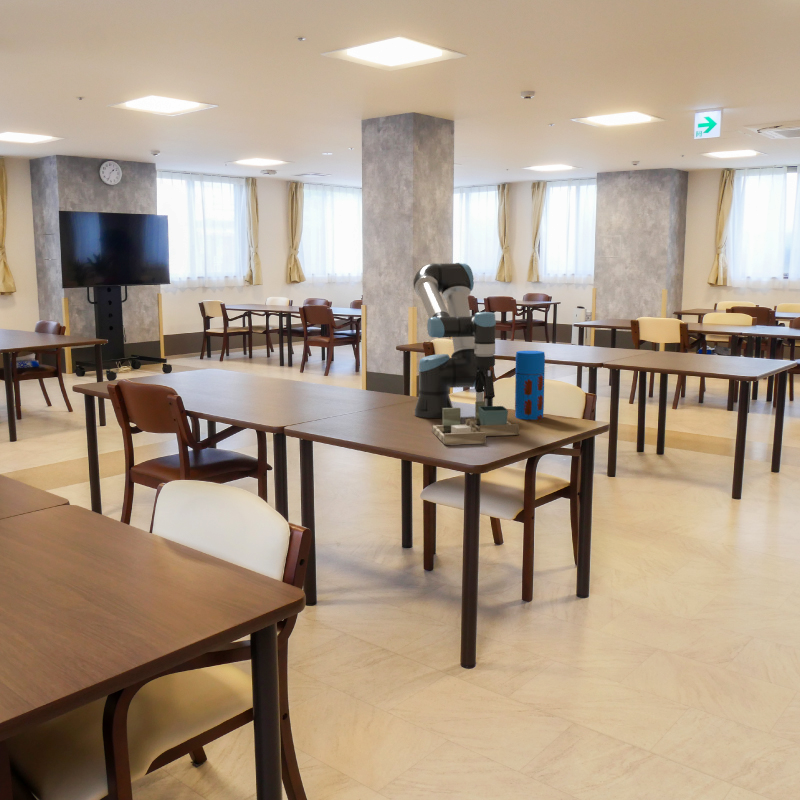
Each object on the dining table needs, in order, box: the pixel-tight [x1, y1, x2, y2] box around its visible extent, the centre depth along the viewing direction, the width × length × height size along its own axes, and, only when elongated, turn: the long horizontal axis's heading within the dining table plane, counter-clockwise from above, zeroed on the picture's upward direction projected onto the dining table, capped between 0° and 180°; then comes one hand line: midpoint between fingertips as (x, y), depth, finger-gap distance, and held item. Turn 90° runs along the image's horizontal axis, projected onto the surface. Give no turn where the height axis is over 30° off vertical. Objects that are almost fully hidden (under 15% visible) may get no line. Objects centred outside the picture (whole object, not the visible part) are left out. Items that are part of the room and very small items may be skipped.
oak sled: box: [464, 400, 520, 437], centre depth 294 cm, size 23×14×8 cm, turn 8°
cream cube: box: [450, 425, 471, 433], centre depth 277 cm, size 5×5×5 cm
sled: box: [431, 407, 487, 446], centre depth 281 cm, size 23×14×8 cm, turn 8°
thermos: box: [514, 350, 546, 421], centre depth 317 cm, size 11×11×25 cm
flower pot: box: [479, 405, 509, 425], centre depth 288 cm, size 9×9×9 cm
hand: (484, 413), depth 304 cm, fingers open, 13 cm apart
